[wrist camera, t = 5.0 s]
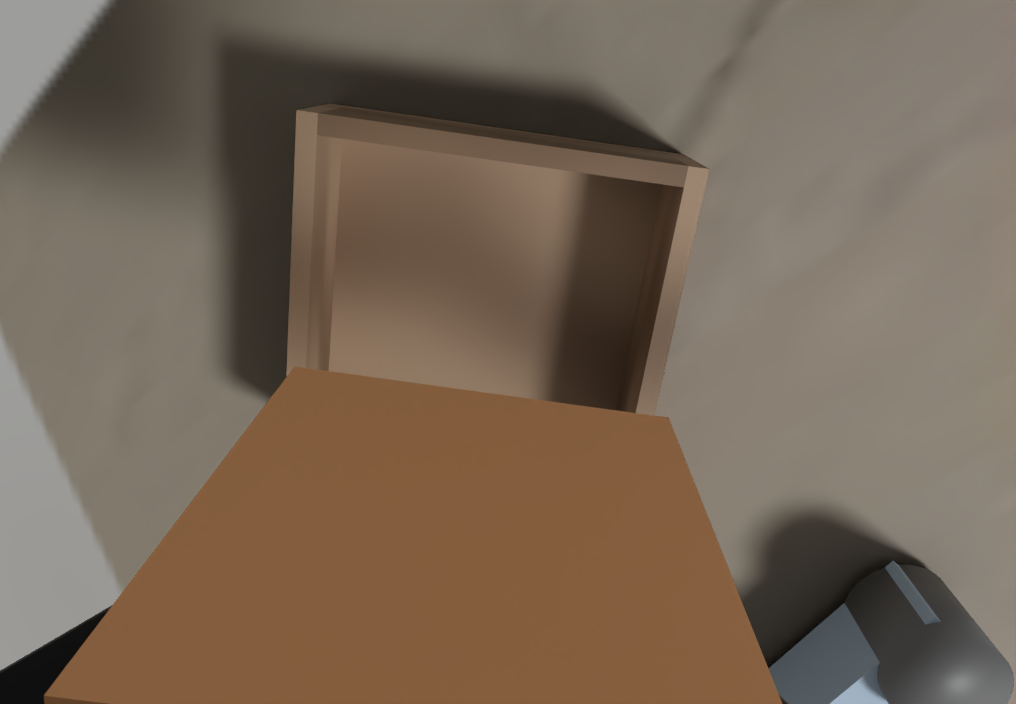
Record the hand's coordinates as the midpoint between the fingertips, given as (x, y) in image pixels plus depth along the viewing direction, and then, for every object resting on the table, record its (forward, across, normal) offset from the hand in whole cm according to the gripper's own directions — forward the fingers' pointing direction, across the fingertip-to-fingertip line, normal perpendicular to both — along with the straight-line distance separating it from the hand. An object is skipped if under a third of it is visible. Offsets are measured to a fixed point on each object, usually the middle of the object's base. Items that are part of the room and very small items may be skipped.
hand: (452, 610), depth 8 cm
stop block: (+1, 0, 0) cm, 1 cm away
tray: (+11, 0, 0) cm, 11 cm away
